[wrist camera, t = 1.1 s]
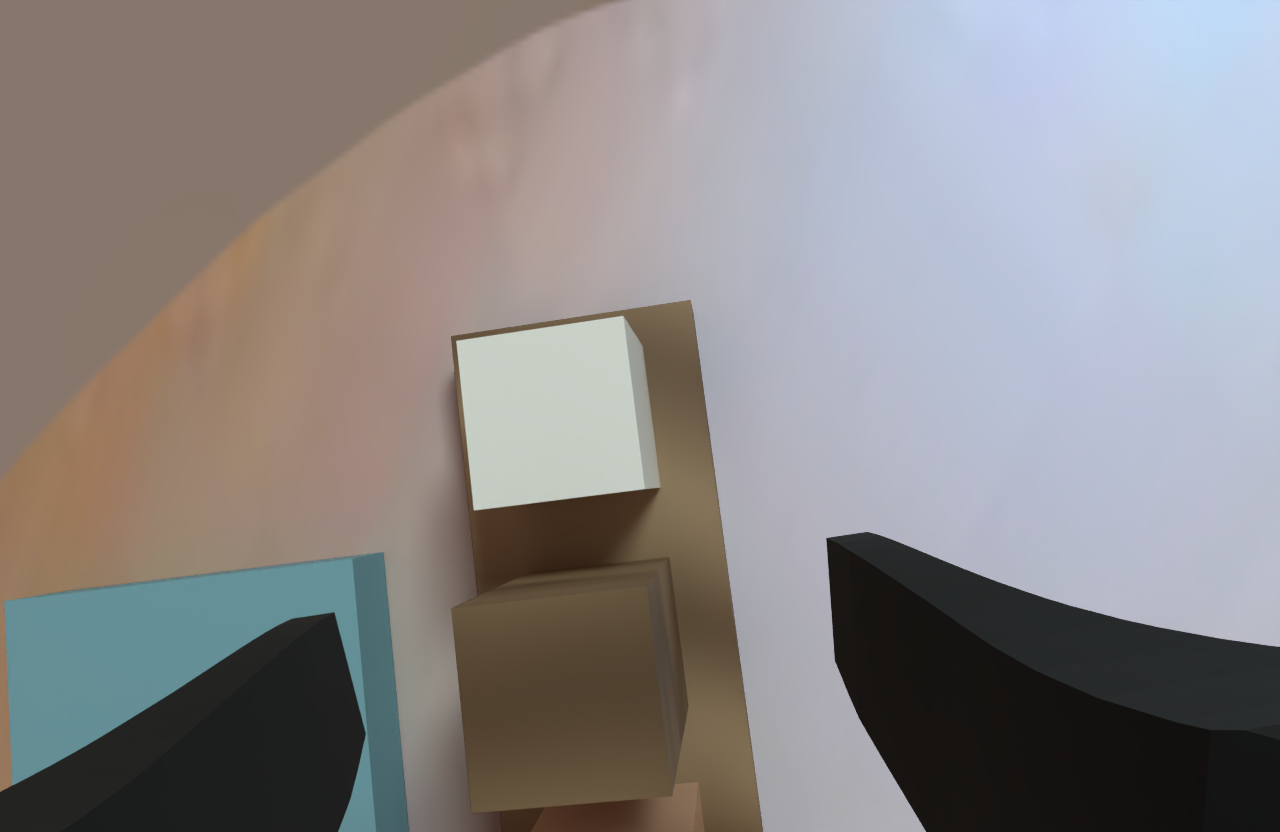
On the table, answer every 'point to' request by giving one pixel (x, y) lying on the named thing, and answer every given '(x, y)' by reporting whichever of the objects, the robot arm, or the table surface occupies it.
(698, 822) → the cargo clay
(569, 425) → the block
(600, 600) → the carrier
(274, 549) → the table surface
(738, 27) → the table surface
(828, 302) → the table surface
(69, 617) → the dock
